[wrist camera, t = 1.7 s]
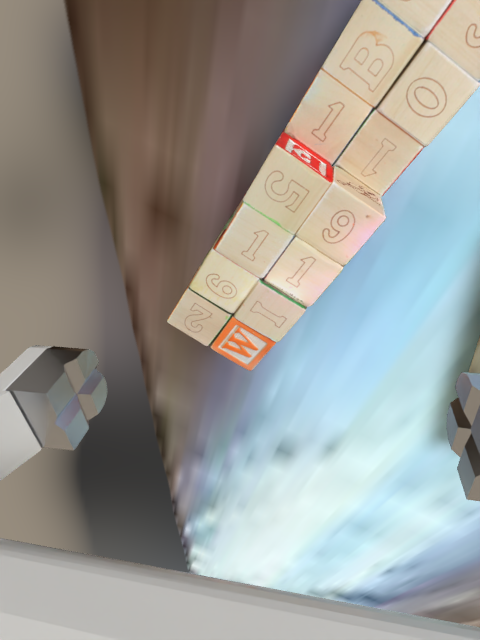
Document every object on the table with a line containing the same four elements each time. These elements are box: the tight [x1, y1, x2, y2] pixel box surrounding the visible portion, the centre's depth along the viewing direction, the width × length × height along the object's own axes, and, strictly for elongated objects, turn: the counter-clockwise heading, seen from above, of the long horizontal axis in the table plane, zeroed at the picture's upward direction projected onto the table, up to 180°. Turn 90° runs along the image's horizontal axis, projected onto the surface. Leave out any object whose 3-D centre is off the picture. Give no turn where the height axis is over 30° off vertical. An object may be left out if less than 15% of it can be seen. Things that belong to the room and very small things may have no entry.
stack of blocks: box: [167, 0, 480, 371], centre depth 23 cm, size 21×6×12 cm, turn 149°
